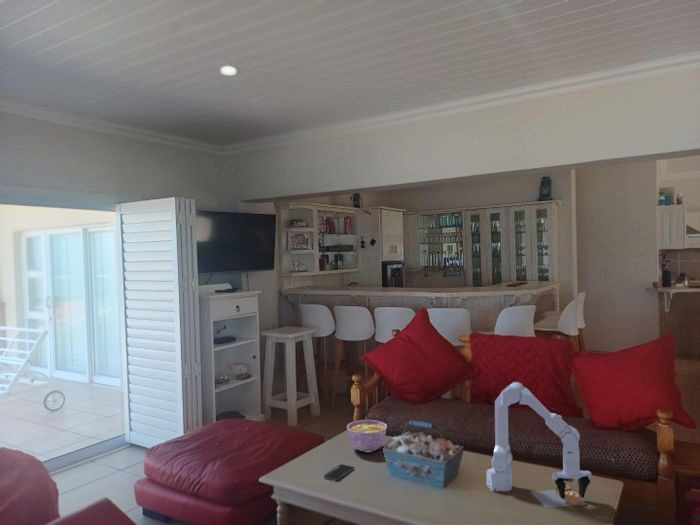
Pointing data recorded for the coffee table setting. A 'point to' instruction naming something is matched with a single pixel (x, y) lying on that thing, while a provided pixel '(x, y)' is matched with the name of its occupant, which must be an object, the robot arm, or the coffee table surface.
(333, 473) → the phone
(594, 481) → the coffee table surface
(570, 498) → the gear
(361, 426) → the bowl of food
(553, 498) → the gear board
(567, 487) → the gear
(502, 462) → the robot arm
